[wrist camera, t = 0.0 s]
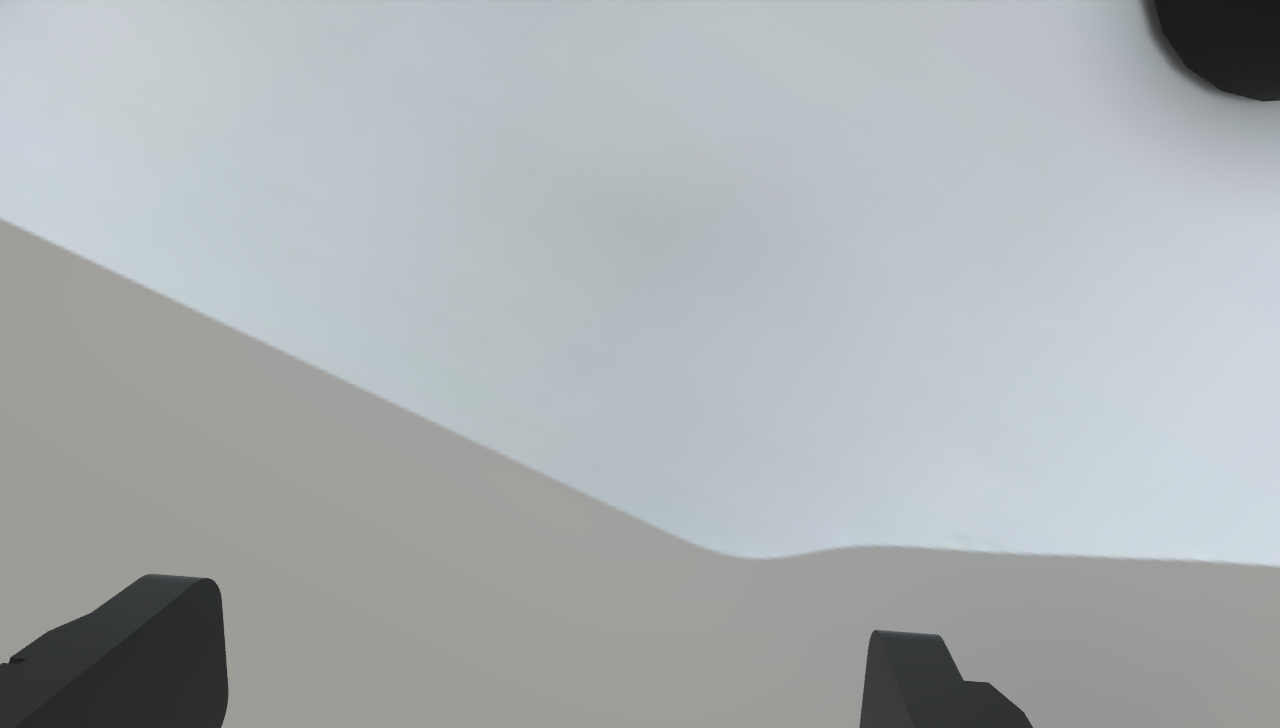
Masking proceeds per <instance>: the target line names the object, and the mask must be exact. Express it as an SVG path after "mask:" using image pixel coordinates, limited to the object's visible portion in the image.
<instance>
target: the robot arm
mask: <svg viewBox="0 0 1280 728" xmlns="http://www.w3.org/2000/svg"><path fill="white" fill-rule="evenodd" d="M227 703H228V678H227V666H226V651H225V638H224V624H223V610H222V599H221V593H220V590H219V588H218V585H217V584H216V583H215V581H213V580H212V579H209V578H198V577H185V576H172V575H158V574H148V575H145V576H143V577H141V578H139V579H138V580H137V581H135V582H134V583H132V584H131V585H130V586H128V587H127V588H125V589H124V590H123V591H121V592H120V593H118V594H117V595H116V596H114V597H113V598H111V599H110V600H108V601H107V602H106V603H104V604H103V605H101V606H100V607H99V608H97V609H96V610H94V611H93V612H92V613H90V614H87V615H85V616H83V617H80V618H78V619H76V620H74V621H71V622H69V623H67V624H64V625H62V626H60V627H57V628H55V629H53V630H50V631H48V632H47V633H45V634H44V635H42V636H41V637H39V638H38V639H37V640H35V641H34V642H32V643H31V644H29V645H28V646H26V647H25V648H24V649H22V650H21V651H19V652H18V653H16V654H15V655H13V656H12V657H11V658H10V661H9V663H8V664H7V663H2V664H1V665H0V728H221V726H222V723H223V720H224V717H225V713H226V709H227ZM860 728H1033V727H1032V725H1031V724H1030V722H1029V720H1028V718H1027V717H1026V715H1025V713H1024V712H1023V711H1022V710H1021V709H1019V708H1018V707H1017V706H1016V705H1015V704H1013V703H1012V702H1011V701H1010V700H1008V699H1007V698H1006V697H1005V696H1004V695H1003V694H1001V693H1000V692H999V691H998V690H997V689H996V688H994V687H993V686H992V685H991V684H989V683H986V682H973V681H963V679H962V677H961V675H960V673H959V671H958V669H957V667H956V665H955V663H954V661H953V659H952V657H951V655H950V653H949V651H948V649H947V647H946V645H945V643H944V641H943V639H942V638H941V637H940V636H939V635H935V634H921V633H908V632H894V631H882V630H875V631H873V633H872V635H871V638H870V642H869V647H868V655H867V665H866V674H865V683H864V693H863V702H862V710H861V720H860Z"/></svg>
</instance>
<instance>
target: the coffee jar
mask: <svg viewBox="0 0 1280 728" xmlns="http://www.w3.org/2000/svg"><path fill="white" fill-rule="evenodd" d="M1154 1H1155V5H1156V9H1157V13H1158V17H1159V20H1160V24H1161V28H1162V32H1163V34H1164V35H1165V36H1166V38H1167V39H1168V41H1169V42H1170V44H1171V45H1172V46H1173V48H1174V49H1175V51H1176V52H1177V54H1178V55H1179V57H1180V58H1181V59H1182V61H1183V62H1184V64H1185V65H1186V66H1187V67H1188V68H1190V69H1191V70H1193V71H1194V72H1196V73H1197V74H1199V75H1200V76H1201V77H1203V78H1204V79H1206V80H1207V81H1209V82H1210V83H1212V84H1213V85H1214V86H1216V87H1217V88H1219V89H1220V90H1222V91H1225V92H1229V93H1233V94H1237V95H1241V96H1245V97H1248V98H1252V99H1256V100H1260V101H1275V100H1280V0H1154Z"/></svg>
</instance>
